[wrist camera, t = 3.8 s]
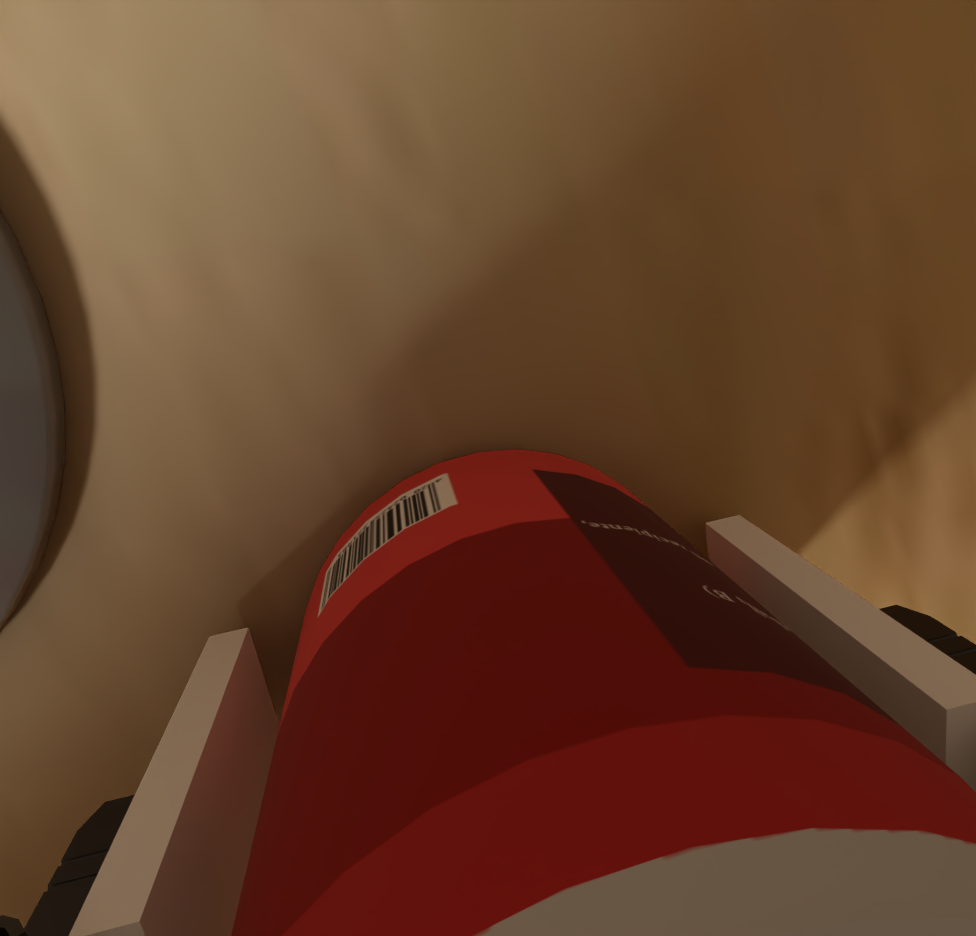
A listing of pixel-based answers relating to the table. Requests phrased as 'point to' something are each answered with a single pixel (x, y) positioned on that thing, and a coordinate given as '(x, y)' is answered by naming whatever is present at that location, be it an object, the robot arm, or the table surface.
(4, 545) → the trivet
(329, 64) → the table surface
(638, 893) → the canned food
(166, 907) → the robot arm
